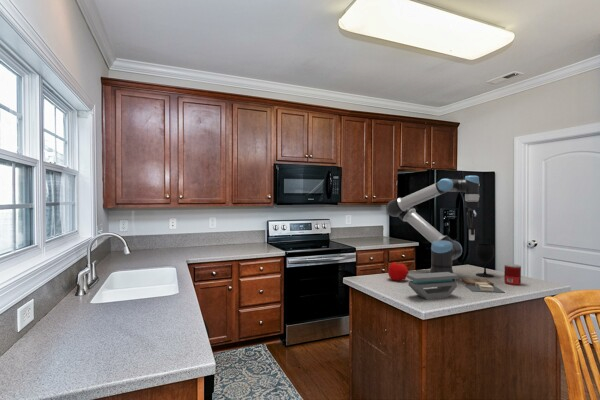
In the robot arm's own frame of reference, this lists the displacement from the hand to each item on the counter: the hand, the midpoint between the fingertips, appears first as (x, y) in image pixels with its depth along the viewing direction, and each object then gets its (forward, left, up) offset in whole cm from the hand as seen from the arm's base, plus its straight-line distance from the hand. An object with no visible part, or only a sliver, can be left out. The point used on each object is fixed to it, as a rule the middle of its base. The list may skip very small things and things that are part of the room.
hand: (471, 240), depth 195 cm
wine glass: (+13, +14, -25) cm, 31 cm away
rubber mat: (0, -19, -24) cm, 31 cm away
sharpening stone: (-31, -37, -25) cm, 55 cm away
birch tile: (0, -19, -24) cm, 30 cm away
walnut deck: (0, -9, -24) cm, 26 cm away
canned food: (+21, -4, -25) cm, 33 cm away
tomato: (-44, -7, -25) cm, 51 cm away
